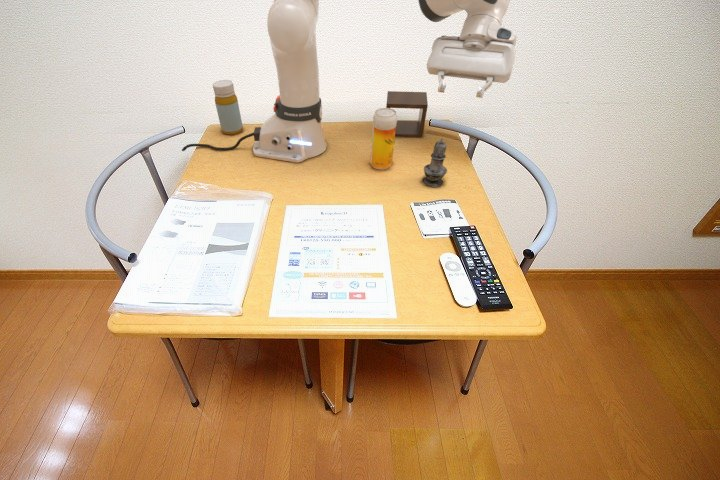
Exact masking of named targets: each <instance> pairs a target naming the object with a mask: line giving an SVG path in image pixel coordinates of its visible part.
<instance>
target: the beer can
mask: <svg viewBox="0 0 720 480" xmlns="http://www.w3.org/2000/svg"><path fill="white" fill-rule="evenodd" d="M397 120H398V114H397V111H396V110H395V108H386V107H381V108H377V109H376V110H375V111H374V114H373V118H372V130H371V144H370V159H369V160H370V161H369V163H370V165H371V167H372V168H374V169H375V170H380V171H381V170H382V171H383V170H387V169H389V168H390V167H391V166H392V164H393V157H394V151H395V142H396V141H395V139H396V136H395V133H396V124H397Z"/></svg>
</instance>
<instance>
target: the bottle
mask: <svg viewBox="0 0 720 480" xmlns="http://www.w3.org/2000/svg"><path fill="white" fill-rule="evenodd" d="M212 89H213V93H214V105H215V107H216V112H217V116H218V121H219V124H220V129H221V132H222V133H223V134H225V135H227V136H234V135H238V134H241V132H242V131H243V129H244V127H243V126H244V125H243V121H242V115H241V111H240V106H239V105H240V104H239V100H238V96H237V95H236V93H235V87H234V82H233V81H232V80H229V79H221V80H216V81H214V82H213V83H212Z"/></svg>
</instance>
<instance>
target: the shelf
mask: <svg viewBox="0 0 720 480" xmlns="http://www.w3.org/2000/svg"><path fill="white" fill-rule="evenodd" d="M428 103H429V101H428V94H427V92H426V91H398V90H397V91H393V90H392V91H391V90H388V91H387V93H386V106H385V108H391V109H410V110H411V109H414V110H415V109H416V110H419V113H418V119H417V120H404V119H403V120H402V119H401V120H400V119H399V120H398V119H397V124H396V133H395V137H401V138H403V137H404V138H423V135H424V129H425V124H426V118H427V111H428V106H429V104H428Z"/></svg>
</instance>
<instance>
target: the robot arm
mask: <svg viewBox="0 0 720 480" xmlns="http://www.w3.org/2000/svg"><path fill="white" fill-rule="evenodd" d="M417 1H418V5H419V8H420V9H419V10H420V11H421V13H422V15H423V16H424V17H425V18H426V19H427V20H428V21H431V22H432V23H439V22H441V21H443V20H445V19H447V18H449V17H451V16H452V15H454V14H457V13H459V12H462V11H465V12H466V14H467V15H466V18H465V20H464V21H463V25H462V28H461V31H460V34H459V36H456V35H450V36H448V35H441V36H439V37H437V38H435V39H434V41H433V43H432V46H431V52H430V54H429V57H428V59H427V62H426V70H427V72H428V74H429V75H434V76H437V79H438V83H439V84H438V87H437V92H438V93H445V90H446V88H447V83H446V82H443V80H444V79H445V77H450V78H458V79H467V80H474V81H475V80H476V81H483V82H485V84H484V85H483V86H481V87H480V86H479V87H478V88H477V91H476V96H475V98H480V99H483V98H484V95H485V92H487V91H488V90H489V89H490V88H491V86H492V85H493V83H498V84H499V83H500V84H506V83H507V82H508V81H510V79H511V75H512V73H513V68H514V63H515V59H516V43H517V32H515V31H514V30H511V29H509V28H507V27H504V26H502V21H503V19H504V17H505V15H506V13H507V11H508V9H509V5H510V0H417ZM319 6H320V0H273V3H272V4H271V6H270V8H269V10H268V13H267V19H266V20H267V22H266V25H267V26H266V27H267V33H268V36H269V41H270V46H271V51H272V56H273V59H274V64H275V68H276V74H277V82H278V84H277V85H278V91H279V94H278V95H277V97H276V98H275V102H274V104H273V105H274V106H273V108H272V110H273V113H274V114H273V115H271V116H270V117H269V118H268V119H267V120H266V121H264V122H263V124H262V126H255V127H254V129H253V132H251V133H249V134H246V135H243V136H242V137H240V138H239V139H238V140H237V142H236V143H235V144H234V145H232V146H229V147H220V146H219V147H218V146H213V145H211V144H208V143H189V144H186V145H184V146H183V147H182V149H181V152H185V151H186V150H187V149H188V148H192V147H200V148H201V147H202V148H209V149H212V150H216V151H232V150H234V149H237V148H238V146H239V145H240V144H241V143H242V142H243V141H244V140H247V139H248V138H250V137H253V138H254V139H253V140H254V143H253V146H252V152H253V156H255V157H260V158H265V159H273V160H279V161H284V162H290V163H298V164H299V163H302V162H303V161H306V160H307V159H310V158H314V157H318V156H320V155H321V154H323V153H324V152H325V151H326V149H327V145H328V144H327V142H326V139H325V135H324V131H323V130H324V129H323V124H322V119H323V104H322V99H321V97H320V71H319V61H318V51H317V37H316V36H317V33H316V32H317V30H316V29H317V24H318V21H319V20H318V19H319V11H320V7H319Z"/></svg>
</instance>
